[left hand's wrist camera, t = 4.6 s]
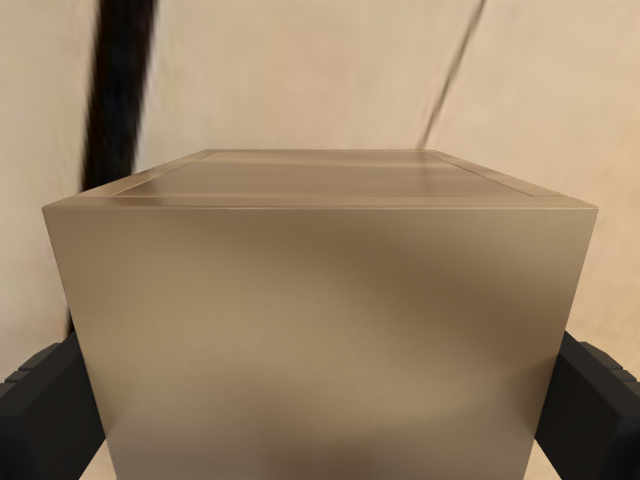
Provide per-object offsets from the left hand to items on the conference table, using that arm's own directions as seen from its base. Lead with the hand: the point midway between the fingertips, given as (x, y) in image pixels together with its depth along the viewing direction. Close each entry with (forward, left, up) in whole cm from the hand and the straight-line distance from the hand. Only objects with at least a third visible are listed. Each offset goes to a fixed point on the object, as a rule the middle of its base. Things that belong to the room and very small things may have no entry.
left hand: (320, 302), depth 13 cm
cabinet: (+3, -2, -6) cm, 7 cm away
